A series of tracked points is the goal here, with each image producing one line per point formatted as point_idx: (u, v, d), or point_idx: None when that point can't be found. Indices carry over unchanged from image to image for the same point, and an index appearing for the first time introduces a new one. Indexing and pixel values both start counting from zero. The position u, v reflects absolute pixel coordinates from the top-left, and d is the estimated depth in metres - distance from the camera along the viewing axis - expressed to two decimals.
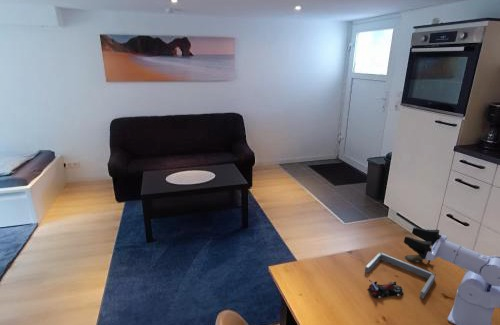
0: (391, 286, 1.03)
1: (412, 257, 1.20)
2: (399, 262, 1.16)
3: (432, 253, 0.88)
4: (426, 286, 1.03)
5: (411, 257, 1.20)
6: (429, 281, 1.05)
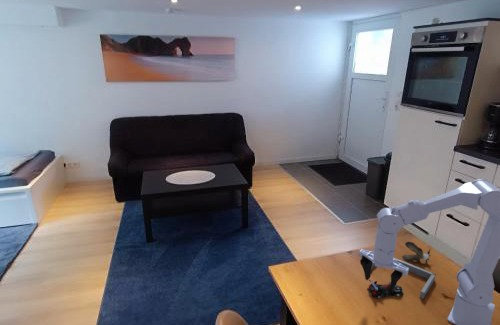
0: None
1: (409, 257, 1.20)
2: (399, 262, 1.16)
3: (404, 272, 0.89)
4: (426, 286, 1.03)
5: (408, 256, 1.20)
6: (429, 281, 1.05)
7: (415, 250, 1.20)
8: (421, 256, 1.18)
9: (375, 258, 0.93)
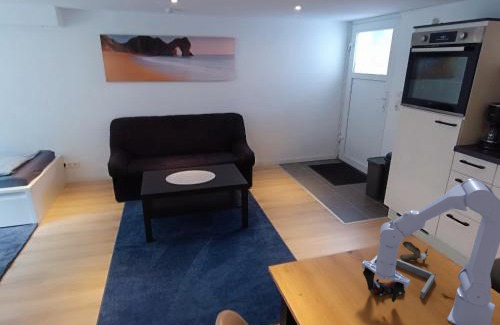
0: (393, 284, 1.03)
1: (407, 256, 1.20)
2: (399, 262, 1.16)
3: (405, 283, 0.93)
4: (426, 286, 1.03)
5: (406, 256, 1.21)
6: (429, 281, 1.05)
7: (412, 250, 1.20)
8: (418, 256, 1.18)
9: (377, 270, 0.97)
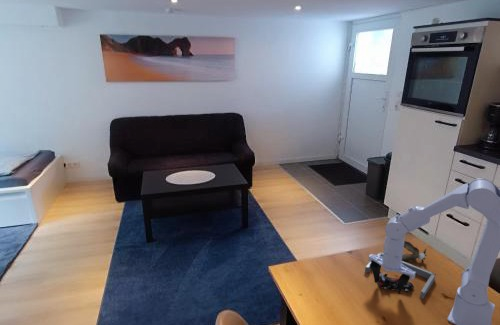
0: None
1: (406, 256, 1.20)
2: None
3: (411, 275, 0.96)
4: (426, 286, 1.03)
5: (405, 256, 1.21)
6: (429, 281, 1.05)
7: (411, 250, 1.20)
8: (417, 255, 1.18)
9: (384, 263, 1.00)
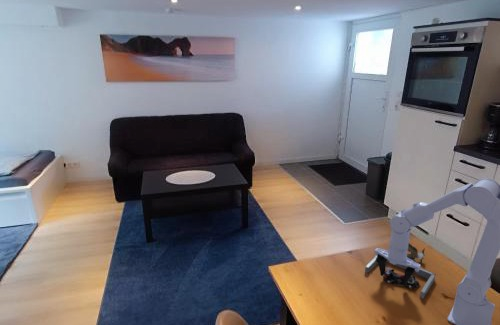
0: None
1: None
2: None
3: (416, 268, 1.00)
4: (426, 286, 1.03)
5: None
6: (429, 281, 1.05)
7: (410, 249, 1.21)
8: (416, 255, 1.18)
9: (390, 256, 1.04)
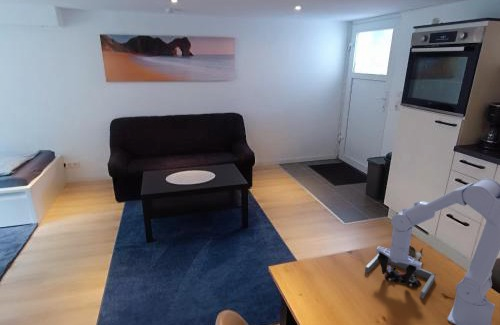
0: None
1: None
2: (399, 262, 1.16)
3: (417, 266, 1.00)
4: (426, 286, 1.03)
5: None
6: (429, 281, 1.05)
7: None
8: (414, 255, 1.19)
9: (391, 254, 1.04)
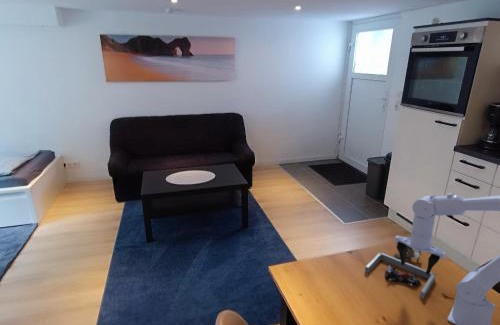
0: (407, 275, 1.08)
1: None
2: (399, 262, 1.16)
3: (441, 255, 0.94)
4: (426, 286, 1.03)
5: None
6: (429, 281, 1.05)
7: None
8: (412, 255, 1.19)
9: (412, 243, 0.98)
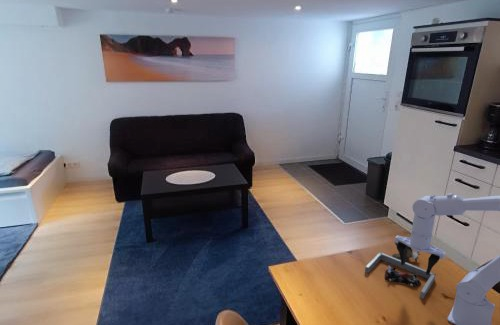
0: (407, 275, 1.08)
1: (399, 255, 1.21)
2: (399, 262, 1.16)
3: (441, 255, 0.94)
4: (426, 286, 1.03)
5: (398, 255, 1.21)
6: (429, 281, 1.05)
7: None
8: (411, 255, 1.19)
9: (412, 243, 0.98)
